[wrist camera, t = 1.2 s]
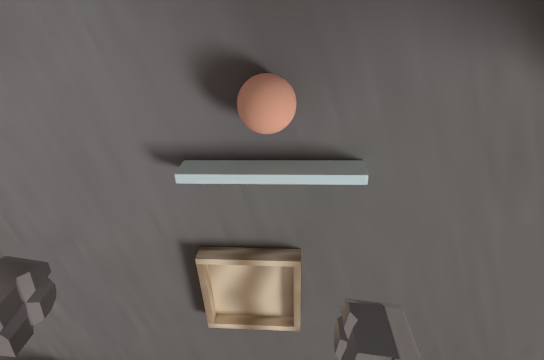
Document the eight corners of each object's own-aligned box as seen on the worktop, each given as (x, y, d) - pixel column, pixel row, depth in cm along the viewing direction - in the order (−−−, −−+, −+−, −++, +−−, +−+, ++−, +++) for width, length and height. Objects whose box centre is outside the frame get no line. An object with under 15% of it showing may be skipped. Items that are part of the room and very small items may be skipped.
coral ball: (296, 66, 29) (296, 80, 25) (296, 121, 31) (296, 143, 27) (239, 67, 29) (228, 81, 25) (243, 122, 32) (234, 143, 28)
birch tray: (300, 248, 39) (300, 261, 37) (300, 317, 45) (300, 331, 43) (199, 246, 40) (195, 258, 38) (212, 313, 46) (208, 327, 44)
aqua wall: (363, 160, 33) (368, 175, 30) (362, 169, 33) (367, 184, 31) (183, 160, 34) (174, 174, 32) (185, 168, 35) (176, 183, 32)
